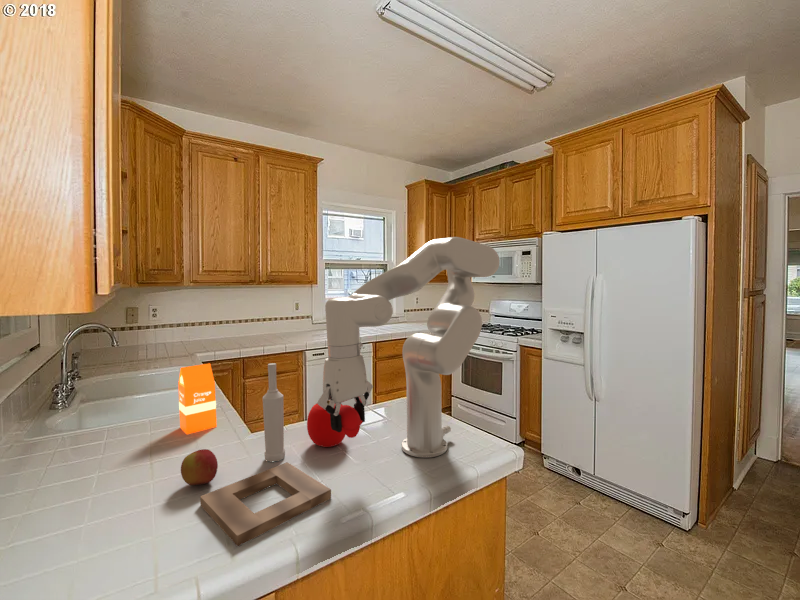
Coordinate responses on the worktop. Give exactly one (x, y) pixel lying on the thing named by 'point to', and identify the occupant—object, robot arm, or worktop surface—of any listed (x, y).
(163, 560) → the worktop surface
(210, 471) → the apple
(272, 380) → the bottle
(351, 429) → the red rounded piece
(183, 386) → the orange juice
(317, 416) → the tomato
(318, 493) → the walnut board
